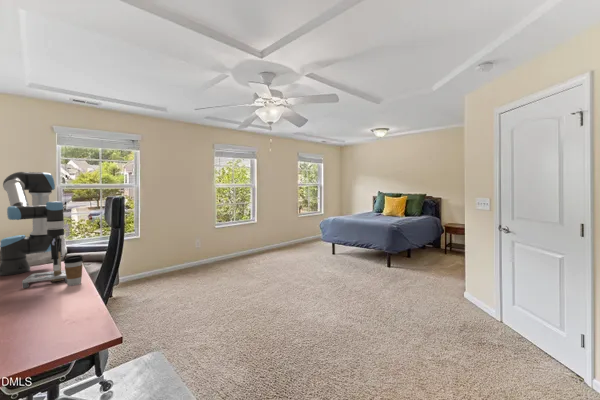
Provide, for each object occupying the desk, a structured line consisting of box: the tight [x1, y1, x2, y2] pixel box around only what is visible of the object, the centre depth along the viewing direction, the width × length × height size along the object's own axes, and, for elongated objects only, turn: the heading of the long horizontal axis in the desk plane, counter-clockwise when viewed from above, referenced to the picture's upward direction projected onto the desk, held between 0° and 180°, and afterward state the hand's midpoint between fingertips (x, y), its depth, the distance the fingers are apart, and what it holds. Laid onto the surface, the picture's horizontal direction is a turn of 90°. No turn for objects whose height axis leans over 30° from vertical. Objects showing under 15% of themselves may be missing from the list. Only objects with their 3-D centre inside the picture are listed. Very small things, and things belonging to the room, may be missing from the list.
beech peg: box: [51, 252, 65, 283], centre depth 168 cm, size 6×6×16 cm
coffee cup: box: [63, 254, 84, 287], centre depth 160 cm, size 8×8×15 cm
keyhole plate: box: [21, 269, 67, 289], centre depth 166 cm, size 16×20×4 cm
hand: (57, 269), depth 168 cm, fingers closed on beech peg, 3 cm apart
